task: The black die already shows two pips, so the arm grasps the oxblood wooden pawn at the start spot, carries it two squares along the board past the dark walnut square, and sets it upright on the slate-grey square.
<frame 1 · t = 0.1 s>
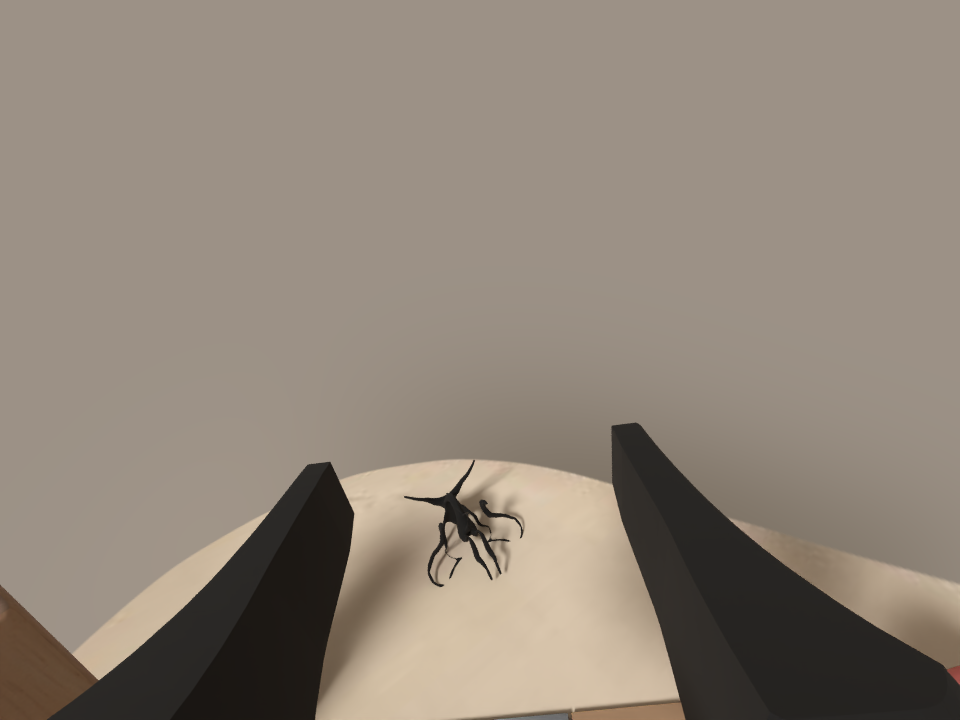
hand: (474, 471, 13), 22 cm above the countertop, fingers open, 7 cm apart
creature: (473, 549, 37), on the countertop
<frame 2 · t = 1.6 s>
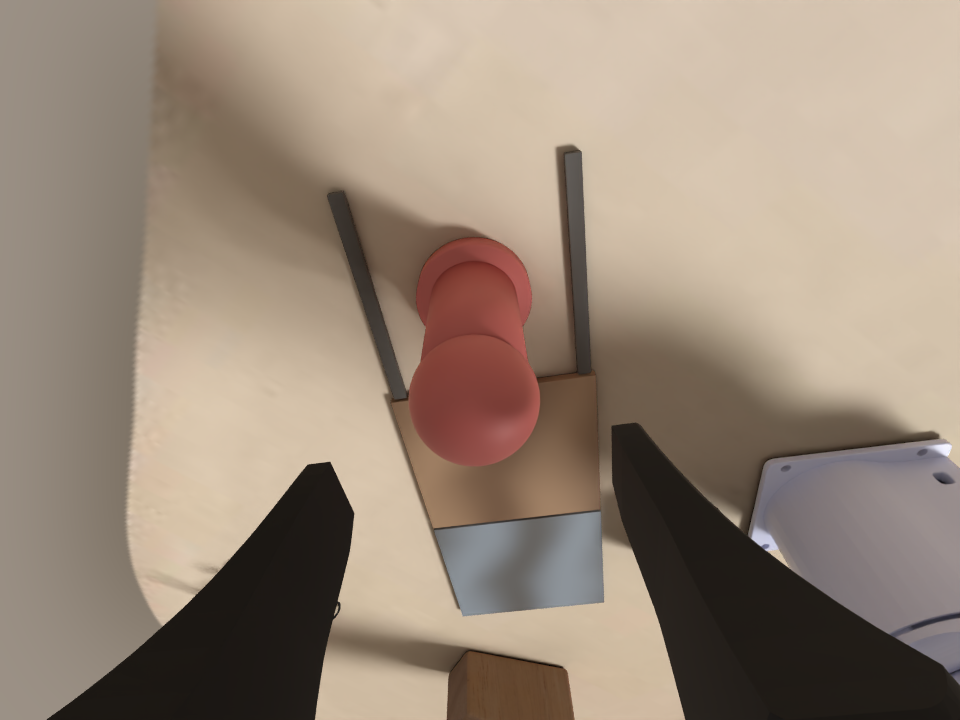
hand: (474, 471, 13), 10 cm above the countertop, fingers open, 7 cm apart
pawn: (473, 290, 21), on the countertop
board: (504, 455, 27), on the countertop
wooden block: (507, 667, 41), on the countertop
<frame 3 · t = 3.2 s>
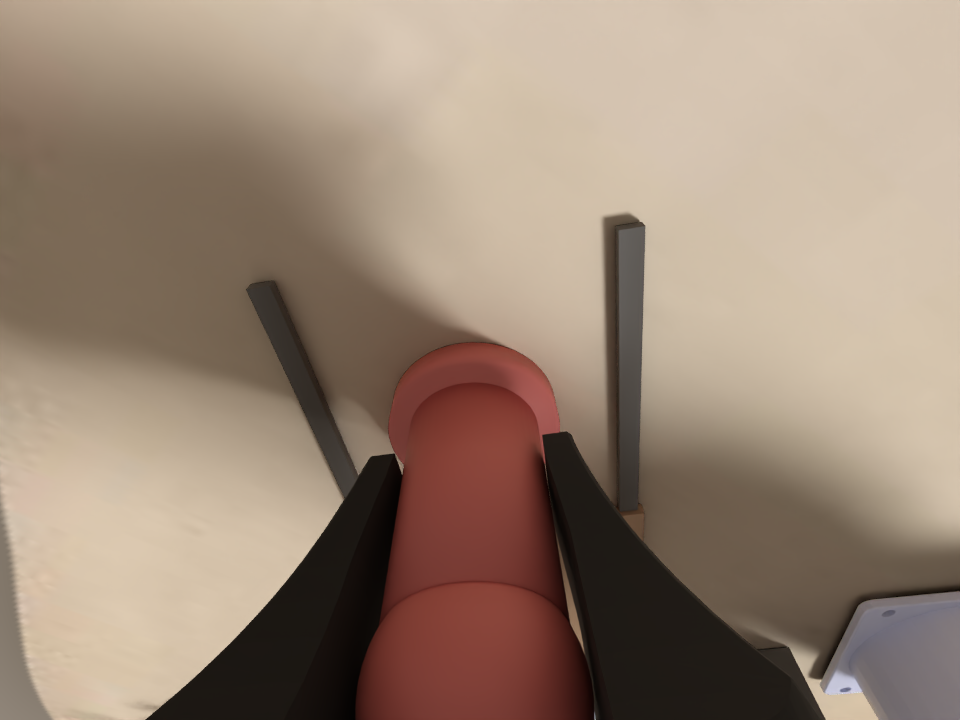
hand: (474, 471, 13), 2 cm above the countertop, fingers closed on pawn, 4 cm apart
pawn: (474, 410, 15), on the countertop, touching gripper
die: (738, 671, 24), on the countertop
board: (514, 596, 20), on the countertop
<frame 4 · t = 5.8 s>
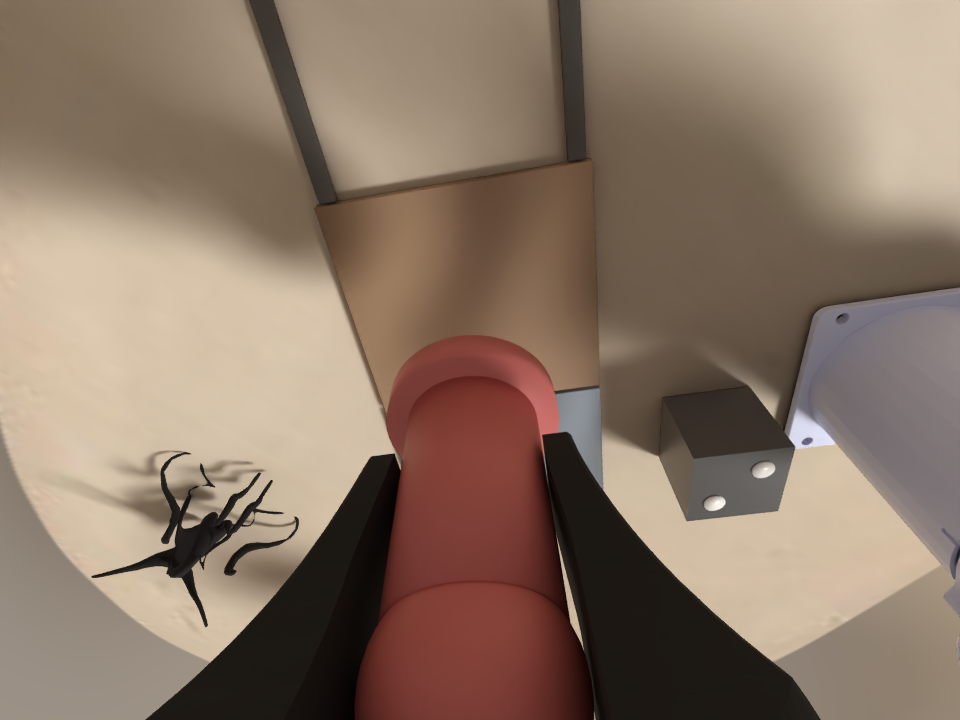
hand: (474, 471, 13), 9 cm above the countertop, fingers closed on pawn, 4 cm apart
creature: (230, 495, 27), on the countertop
pawn: (472, 403, 15), point 7 cm above the countertop, touching gripper
die: (701, 423, 24), on the countertop
board: (473, 302, 20), on the countertop
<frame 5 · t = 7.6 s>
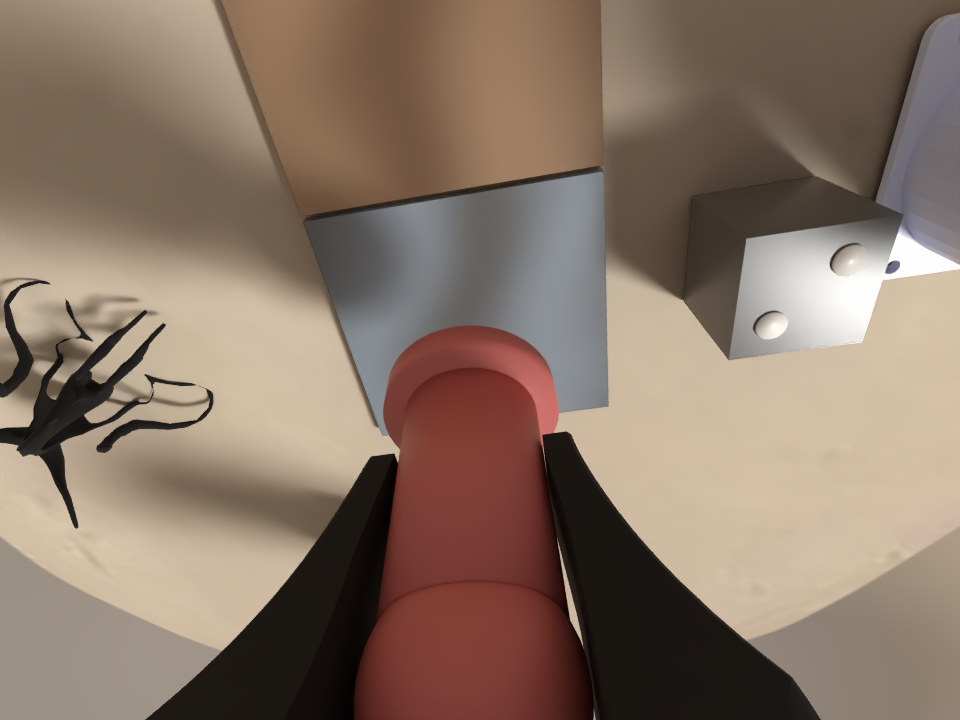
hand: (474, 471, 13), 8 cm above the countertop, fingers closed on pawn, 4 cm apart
creature: (119, 359, 20), on the countertop
pawn: (471, 393, 14), point 5 cm above the countertop, touching gripper
die: (744, 243, 18), on the countertop
board: (414, 8, 14), on the countertop
when the fingers open (4 cm above the countertop, at t = 8.8 s): pawn stays where it is, resting on board.
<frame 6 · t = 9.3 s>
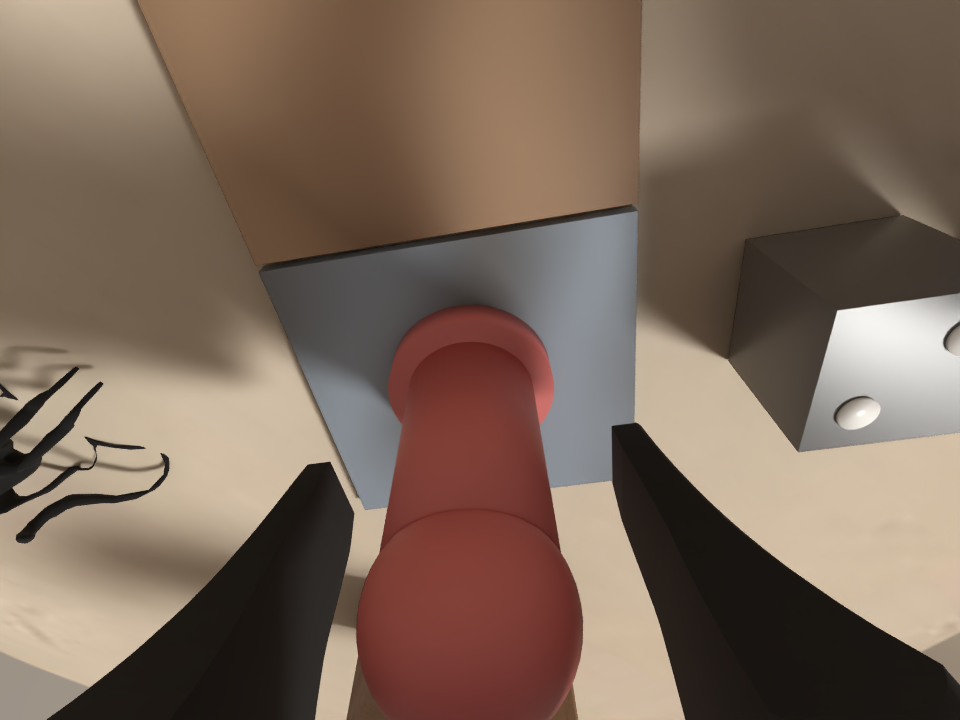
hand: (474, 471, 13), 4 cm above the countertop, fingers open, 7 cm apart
creature: (53, 418, 17), on the countertop
pawn: (471, 374, 15), resting on board
die: (807, 294, 14), on the countertop
board: (393, 3, 10), on the countertop
wooden block: (463, 621, 24), on the countertop
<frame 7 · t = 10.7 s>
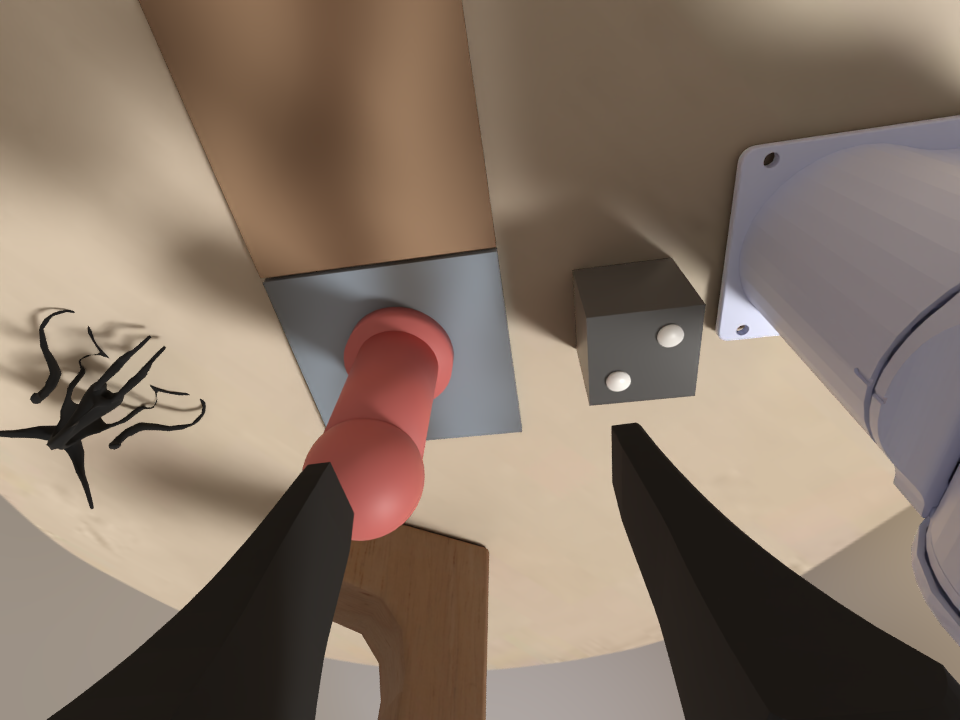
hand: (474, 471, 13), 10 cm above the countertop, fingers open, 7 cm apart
creature: (129, 371, 25), on the countertop
pawn: (401, 352, 23), resting on board
die: (621, 306, 21), on the countertop
board: (340, 133, 18), on the countertop
wooden block: (414, 545, 32), on the countertop
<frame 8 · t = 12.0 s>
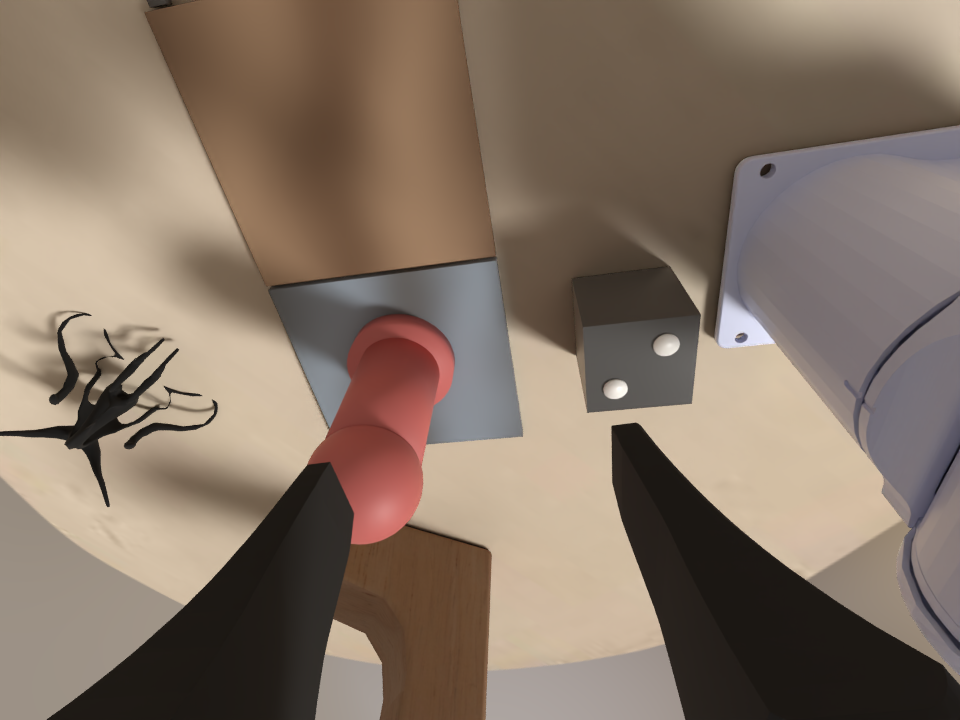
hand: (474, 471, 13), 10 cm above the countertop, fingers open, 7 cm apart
creature: (144, 373, 25), on the countertop
pawn: (403, 358, 23), resting on board
die: (620, 314, 22), on the countertop
board: (343, 145, 18), on the countertop
wooden block: (417, 546, 32), on the countertop
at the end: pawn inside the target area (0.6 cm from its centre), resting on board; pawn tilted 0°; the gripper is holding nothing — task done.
